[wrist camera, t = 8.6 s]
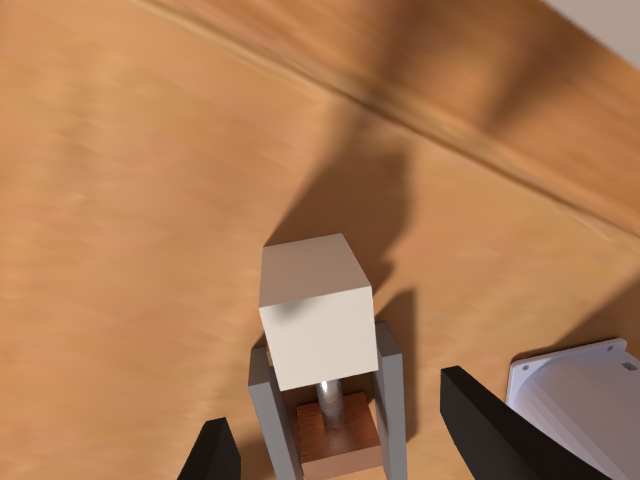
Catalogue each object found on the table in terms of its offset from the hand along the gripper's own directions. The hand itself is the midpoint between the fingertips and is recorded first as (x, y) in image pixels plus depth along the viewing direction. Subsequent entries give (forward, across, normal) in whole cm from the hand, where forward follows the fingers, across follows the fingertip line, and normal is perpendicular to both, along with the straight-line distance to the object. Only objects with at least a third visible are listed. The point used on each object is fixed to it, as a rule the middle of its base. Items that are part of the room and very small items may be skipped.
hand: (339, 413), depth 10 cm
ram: (+9, 0, +7) cm, 12 cm away
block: (+10, 0, 0) cm, 10 cm away
